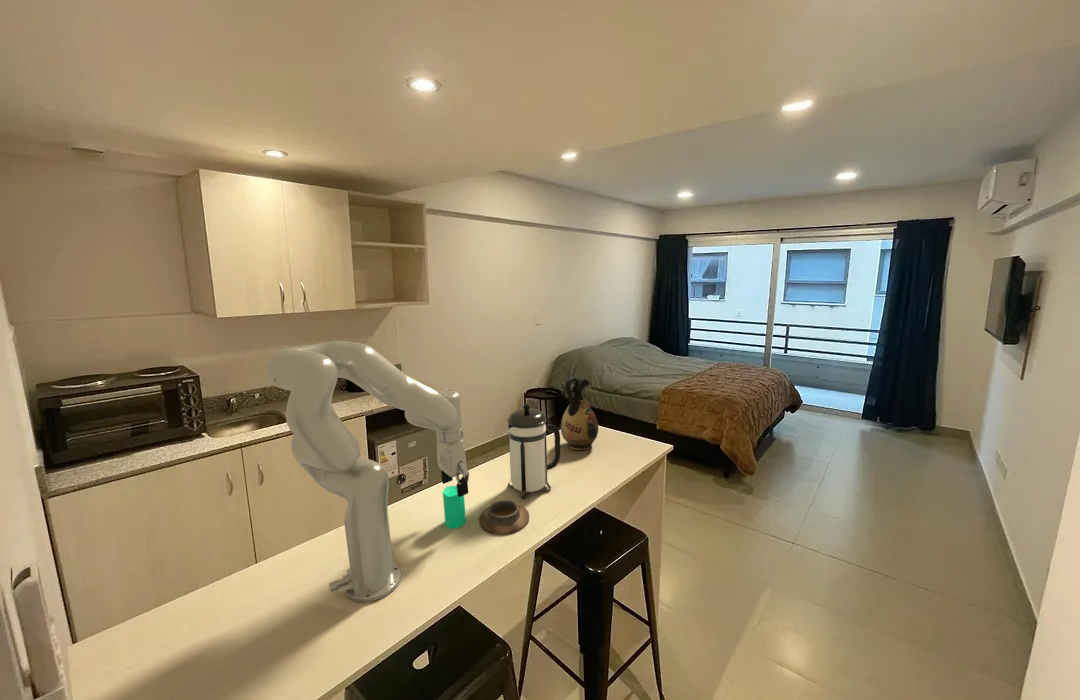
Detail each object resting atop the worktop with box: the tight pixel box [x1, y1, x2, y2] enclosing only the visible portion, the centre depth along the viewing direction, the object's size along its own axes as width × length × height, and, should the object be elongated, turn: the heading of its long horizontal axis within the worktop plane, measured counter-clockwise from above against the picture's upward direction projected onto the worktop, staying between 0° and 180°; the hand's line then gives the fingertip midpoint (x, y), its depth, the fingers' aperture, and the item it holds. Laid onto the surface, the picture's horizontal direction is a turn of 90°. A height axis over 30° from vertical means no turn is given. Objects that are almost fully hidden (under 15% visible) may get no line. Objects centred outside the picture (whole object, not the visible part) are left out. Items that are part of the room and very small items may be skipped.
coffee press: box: [505, 403, 561, 500], centre depth 146 cm, size 17×16×30 cm
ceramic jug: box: [560, 376, 599, 454], centre depth 178 cm, size 17×15×30 cm
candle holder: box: [478, 499, 530, 536], centre depth 130 cm, size 15×15×4 cm
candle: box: [442, 485, 467, 530], centre depth 128 cm, size 6×6×12 cm
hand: (455, 488), depth 128 cm, fingers open, 9 cm apart
